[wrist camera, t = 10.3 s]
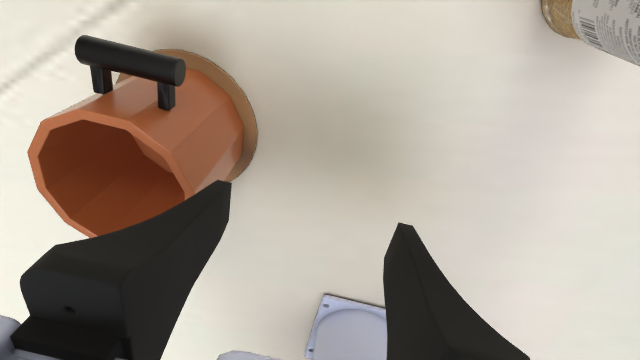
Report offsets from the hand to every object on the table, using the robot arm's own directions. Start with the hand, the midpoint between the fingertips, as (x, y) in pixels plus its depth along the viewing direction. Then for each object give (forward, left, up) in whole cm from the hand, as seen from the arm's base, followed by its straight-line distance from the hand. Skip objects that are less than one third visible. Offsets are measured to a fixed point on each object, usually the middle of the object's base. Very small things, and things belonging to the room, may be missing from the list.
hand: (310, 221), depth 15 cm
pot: (-1, +10, -10) cm, 14 cm away
